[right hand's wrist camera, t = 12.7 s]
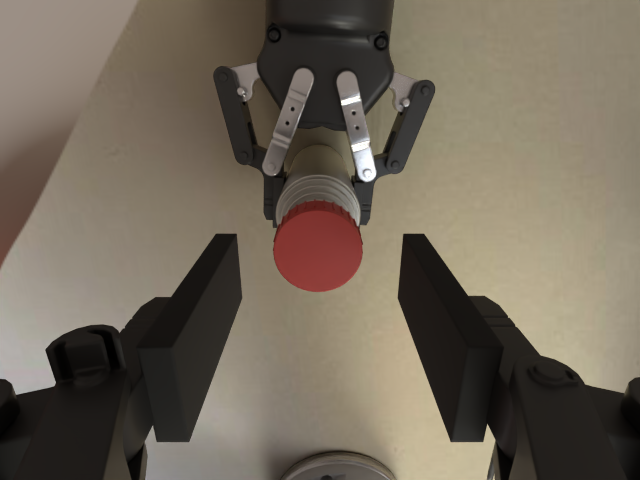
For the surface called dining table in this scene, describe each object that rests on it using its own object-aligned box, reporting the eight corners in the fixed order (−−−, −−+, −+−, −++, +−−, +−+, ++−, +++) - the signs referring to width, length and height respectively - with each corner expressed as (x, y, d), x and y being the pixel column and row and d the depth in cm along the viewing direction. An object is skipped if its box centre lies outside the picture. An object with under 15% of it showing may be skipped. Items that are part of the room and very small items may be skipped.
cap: (259, 248, 18) (254, 262, 16) (308, 181, 17) (307, 189, 15) (326, 291, 19) (327, 308, 17) (377, 230, 18) (382, 243, 16)
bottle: (280, 178, 33) (243, 260, 17) (312, 132, 31) (305, 174, 15) (324, 209, 34) (329, 313, 18) (357, 166, 32) (393, 238, 16)
